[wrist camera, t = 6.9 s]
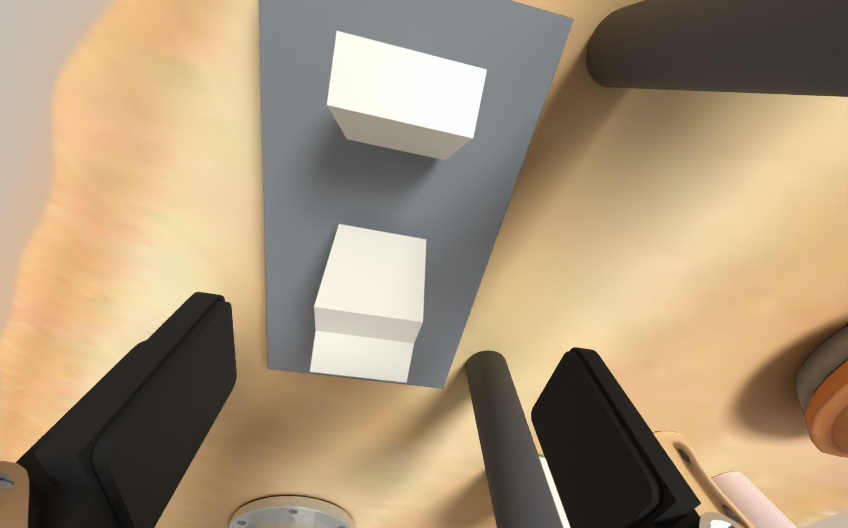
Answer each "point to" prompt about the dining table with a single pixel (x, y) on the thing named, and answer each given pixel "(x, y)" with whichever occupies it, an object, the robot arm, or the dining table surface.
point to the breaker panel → (392, 159)
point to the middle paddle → (373, 285)
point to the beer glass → (699, 478)
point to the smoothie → (751, 501)
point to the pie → (826, 394)
